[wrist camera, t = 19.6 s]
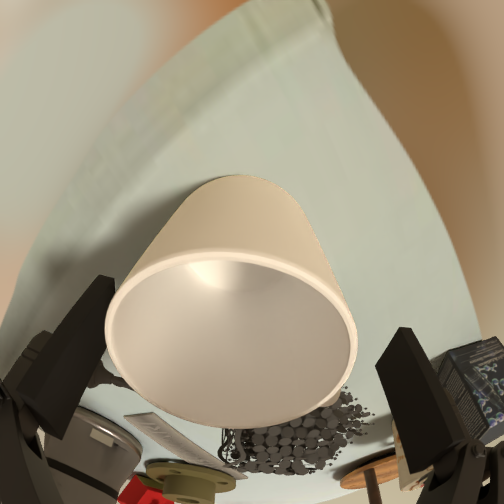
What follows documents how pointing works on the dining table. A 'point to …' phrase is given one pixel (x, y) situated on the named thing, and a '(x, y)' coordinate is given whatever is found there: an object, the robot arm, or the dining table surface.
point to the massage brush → (280, 436)
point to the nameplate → (178, 443)
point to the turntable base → (376, 459)
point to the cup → (233, 312)
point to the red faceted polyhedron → (143, 492)
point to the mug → (406, 467)
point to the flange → (190, 482)
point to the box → (477, 387)
